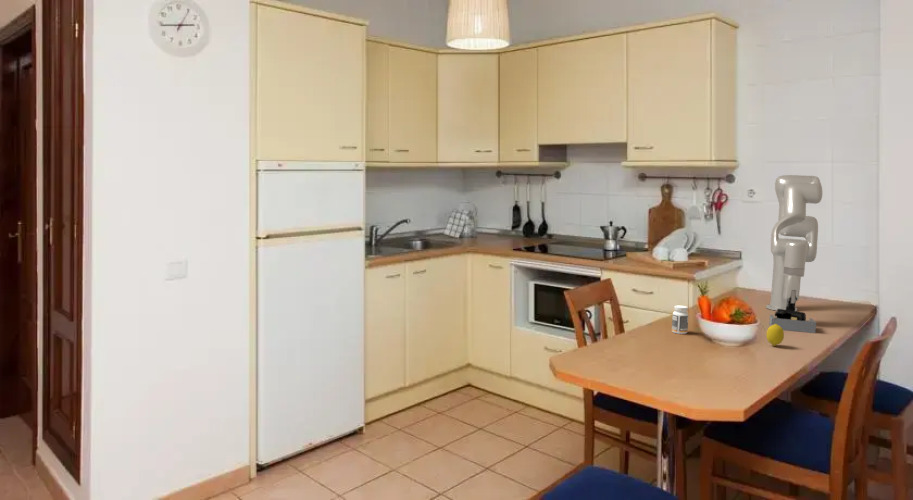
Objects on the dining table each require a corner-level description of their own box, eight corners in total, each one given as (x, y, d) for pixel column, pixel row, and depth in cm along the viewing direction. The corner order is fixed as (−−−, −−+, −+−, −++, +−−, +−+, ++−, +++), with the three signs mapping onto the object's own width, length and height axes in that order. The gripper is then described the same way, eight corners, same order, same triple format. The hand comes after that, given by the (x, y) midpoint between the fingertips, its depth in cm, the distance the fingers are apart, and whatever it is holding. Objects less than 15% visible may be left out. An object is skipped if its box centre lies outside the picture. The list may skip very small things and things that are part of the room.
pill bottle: (687, 331, 258) (689, 305, 257) (687, 335, 253) (689, 308, 251) (671, 330, 260) (673, 304, 259) (671, 333, 254) (672, 307, 253)
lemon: (762, 344, 242) (764, 321, 241) (777, 344, 243) (779, 322, 242) (770, 348, 237) (772, 325, 236) (786, 348, 237) (788, 325, 236)
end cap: (805, 328, 270) (806, 311, 269) (799, 331, 265) (801, 314, 264) (778, 324, 277) (780, 307, 276) (772, 326, 271) (774, 310, 271)
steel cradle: (769, 323, 276) (770, 311, 275) (811, 327, 271) (812, 314, 270) (771, 328, 267) (772, 315, 266) (815, 333, 262) (816, 319, 261)
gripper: (781, 268, 283) (778, 312, 285) (785, 273, 269) (781, 319, 271) (801, 270, 280) (797, 313, 283) (806, 275, 266) (802, 321, 269)
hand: (789, 316), depth 277 cm, fingers closed
